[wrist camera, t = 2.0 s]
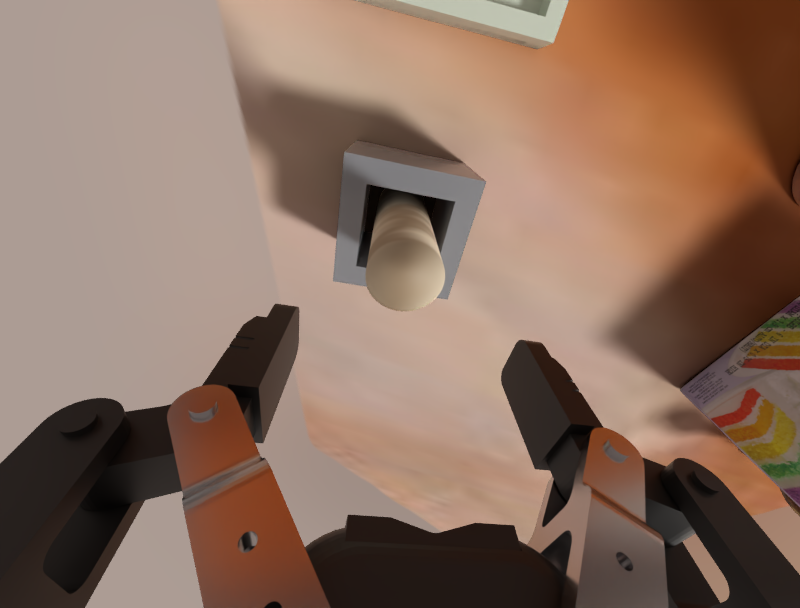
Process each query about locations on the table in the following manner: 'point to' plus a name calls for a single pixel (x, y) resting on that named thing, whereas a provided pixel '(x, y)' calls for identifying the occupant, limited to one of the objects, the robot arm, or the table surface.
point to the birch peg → (403, 253)
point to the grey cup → (405, 173)
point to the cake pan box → (759, 397)
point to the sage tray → (489, 17)
